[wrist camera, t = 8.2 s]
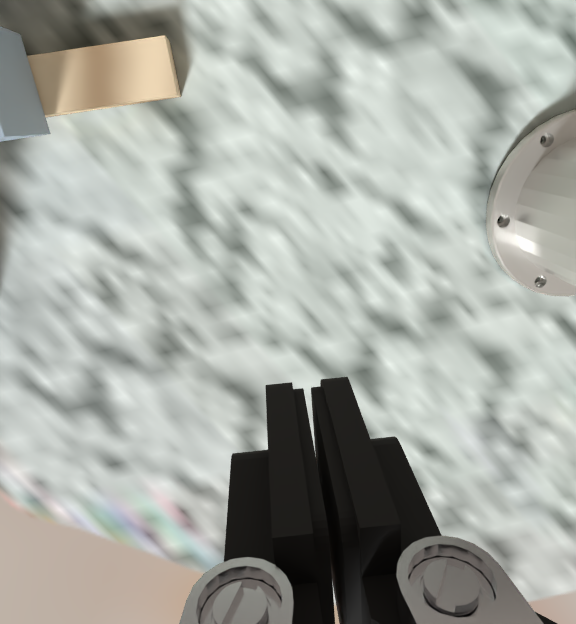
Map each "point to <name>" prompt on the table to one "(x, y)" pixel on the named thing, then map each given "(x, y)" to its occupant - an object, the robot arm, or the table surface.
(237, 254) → the table surface
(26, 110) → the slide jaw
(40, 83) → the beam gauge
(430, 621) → the robot arm
